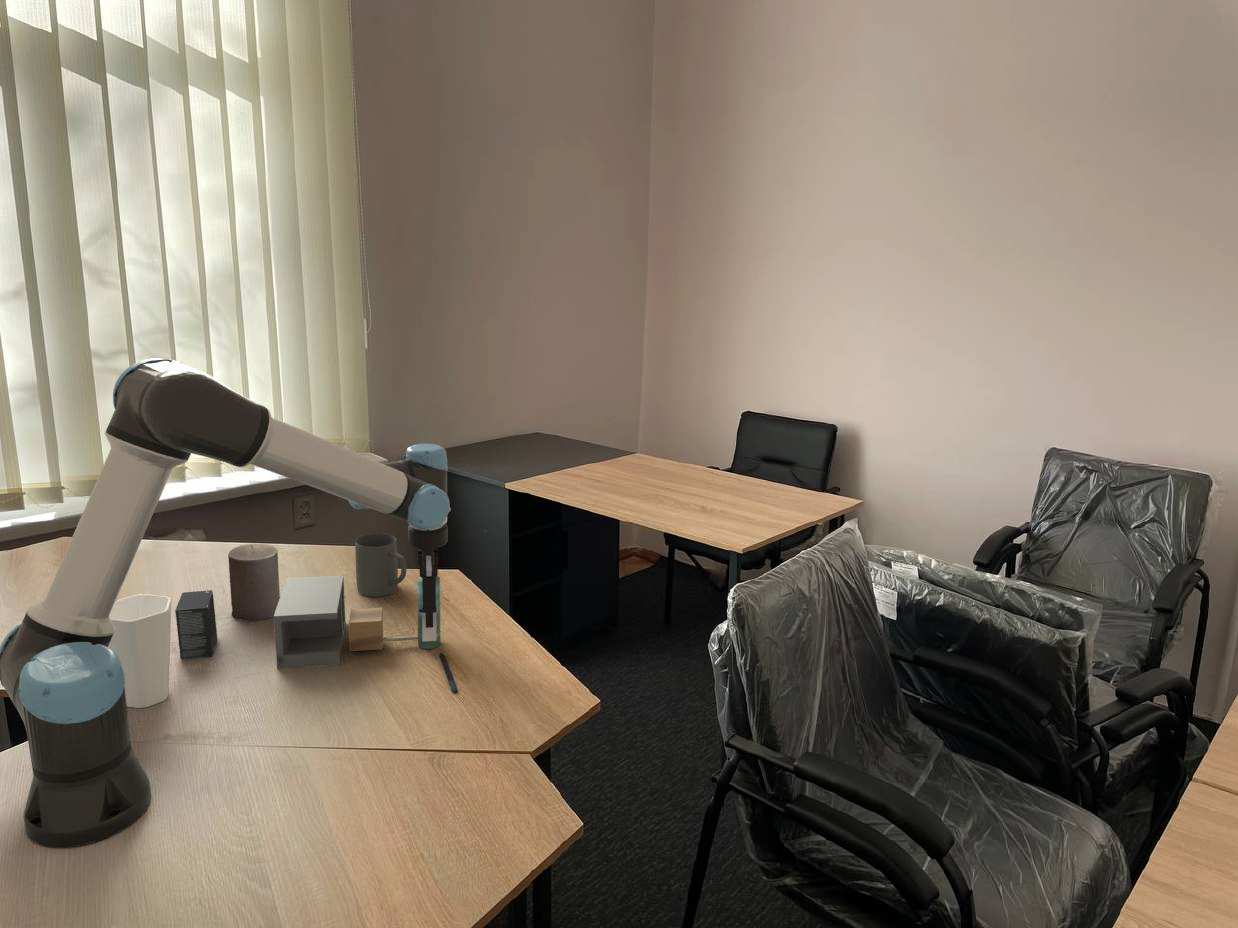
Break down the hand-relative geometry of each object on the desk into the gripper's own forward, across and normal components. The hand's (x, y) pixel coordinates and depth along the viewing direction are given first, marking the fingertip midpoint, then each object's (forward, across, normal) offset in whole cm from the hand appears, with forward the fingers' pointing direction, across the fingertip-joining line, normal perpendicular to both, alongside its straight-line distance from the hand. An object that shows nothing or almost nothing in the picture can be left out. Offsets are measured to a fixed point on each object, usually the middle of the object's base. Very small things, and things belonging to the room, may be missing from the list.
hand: (429, 634), depth 173 cm
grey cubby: (+2, +3, +22) cm, 23 cm away
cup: (+2, -13, +48) cm, 50 cm away
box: (+2, +4, +43) cm, 44 cm away
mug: (+2, +27, +9) cm, 29 cm away
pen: (+3, -12, -3) cm, 13 cm away
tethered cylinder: (+2, 0, +6) cm, 7 cm away
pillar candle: (+2, +20, +35) cm, 41 cm away
